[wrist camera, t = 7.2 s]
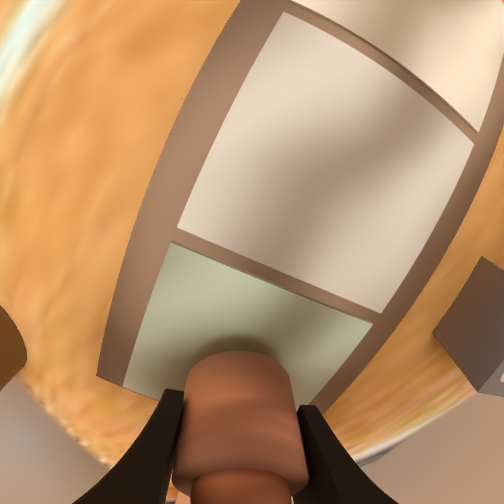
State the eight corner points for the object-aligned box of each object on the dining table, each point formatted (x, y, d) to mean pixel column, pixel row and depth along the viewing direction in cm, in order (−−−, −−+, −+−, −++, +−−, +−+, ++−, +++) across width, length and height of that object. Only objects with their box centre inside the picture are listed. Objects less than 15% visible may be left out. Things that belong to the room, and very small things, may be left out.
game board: (516, 31, 8) (528, 29, 7) (297, 426, 16) (300, 439, 15) (330, -107, 5) (335, -117, 4) (101, 365, 14) (95, 378, 13)
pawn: (304, 357, 11) (344, 517, 5) (275, 422, 12) (291, 550, 6) (191, 342, 10) (164, 515, 4) (182, 411, 12) (166, 544, 6)
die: (513, 285, 14) (564, 327, 9) (471, 349, 15) (512, 399, 10) (480, 255, 13) (545, 302, 8) (431, 331, 14) (478, 394, 10)
